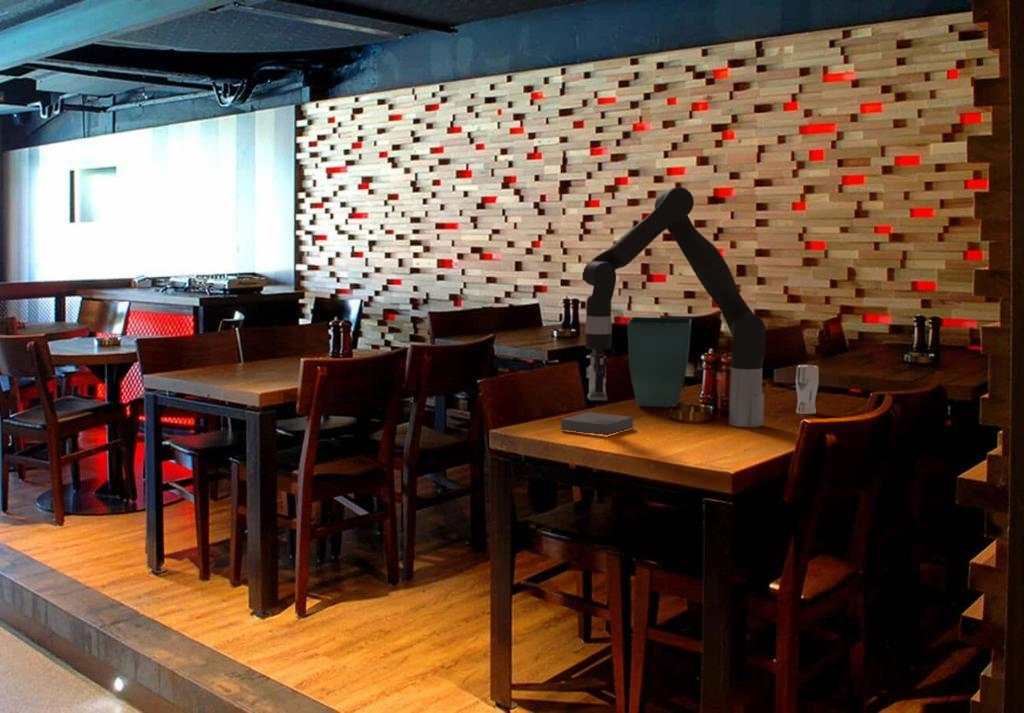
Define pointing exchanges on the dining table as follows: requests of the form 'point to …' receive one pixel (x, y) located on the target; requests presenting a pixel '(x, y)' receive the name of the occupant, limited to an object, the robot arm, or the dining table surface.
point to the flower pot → (658, 359)
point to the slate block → (597, 423)
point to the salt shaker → (592, 393)
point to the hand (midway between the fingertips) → (597, 390)
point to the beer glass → (806, 388)
